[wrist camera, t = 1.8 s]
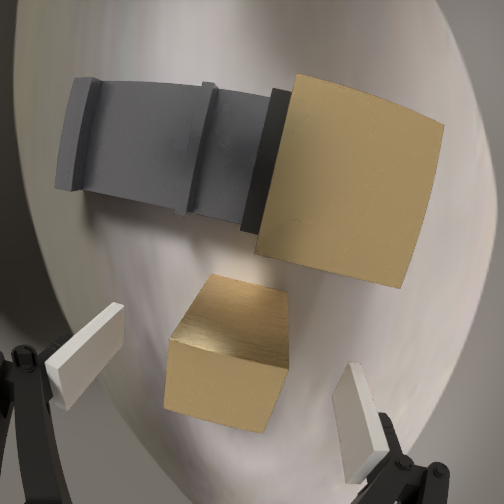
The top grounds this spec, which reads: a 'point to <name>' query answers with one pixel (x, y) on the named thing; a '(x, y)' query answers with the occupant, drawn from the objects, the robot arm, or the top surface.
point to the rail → (264, 165)
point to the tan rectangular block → (229, 355)
